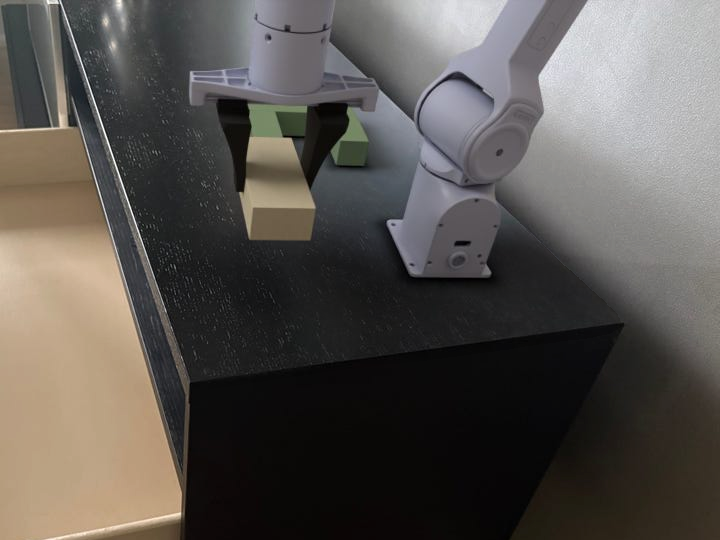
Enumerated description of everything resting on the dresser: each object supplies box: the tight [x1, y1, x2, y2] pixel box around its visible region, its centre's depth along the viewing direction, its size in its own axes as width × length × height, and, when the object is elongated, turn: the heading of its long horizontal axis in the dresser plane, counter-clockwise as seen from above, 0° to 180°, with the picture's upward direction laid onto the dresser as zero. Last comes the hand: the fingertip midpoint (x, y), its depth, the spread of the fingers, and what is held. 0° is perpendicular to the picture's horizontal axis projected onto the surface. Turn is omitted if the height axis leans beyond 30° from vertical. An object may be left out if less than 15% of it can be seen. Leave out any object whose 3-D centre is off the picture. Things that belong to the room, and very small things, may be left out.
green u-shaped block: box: [248, 104, 370, 167], centre depth 89 cm, size 12×13×3 cm
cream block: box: [238, 137, 317, 241], centre depth 64 cm, size 12×5×3 cm, turn 6°
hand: (272, 186), depth 64 cm, fingers closed on cream block, 5 cm apart
